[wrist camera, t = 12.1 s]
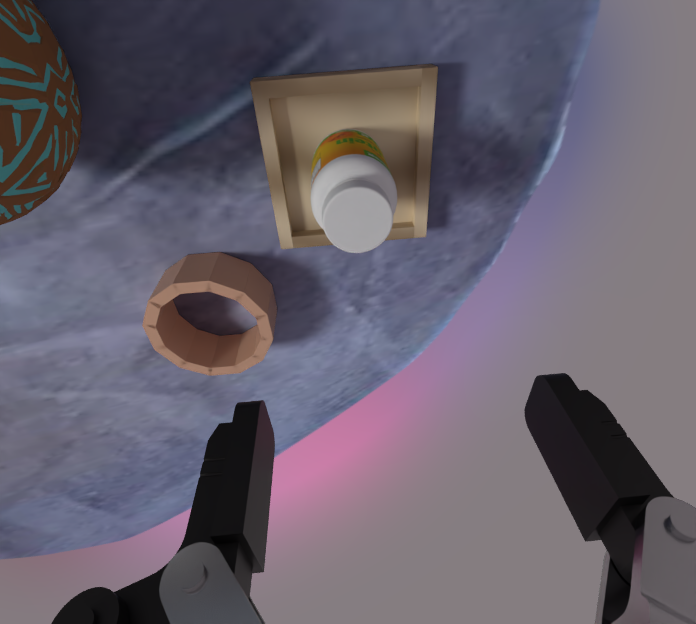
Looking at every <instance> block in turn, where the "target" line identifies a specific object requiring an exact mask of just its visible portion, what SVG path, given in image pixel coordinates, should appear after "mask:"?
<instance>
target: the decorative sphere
mask: <svg viewBox="0 0 696 624" xmlns="http://www.w3.org/2000/svg"><path fill="white" fill-rule="evenodd" d="M81 120H82V113H81V106H80V100H79V94H78V87H77V85H76V84H75V81H74V77H73V74H72V70H71V68H70V66H69V64H68V62H67V59H66V56H65V54H64V51H63V49H62V48H61V46H60V45H59V43H58V41H57V39H56V38H55V36H54V34H53V32H52V31H51V29H50V27H49V25H48V23H47V21H46V20H45V18H44V17H43V15H42V14H41V12H40V11H39V10H38V9H37V7H36V6H35V4H34V3H33V2H32V1H31V0H0V225H1V224H5V223H8V222H11V221H13V220H16V219H18V218H20V217H22V216H24V215H27V214H28V213H29V212H31V211H32V210H33V209H35V208H36V207H38V206H39V205H40V204H42V203H43V202H44V201H46V200H47V199H48V198H49V197H50V196H51V195H52V194H53V193H54V192H55V191H56V190H57V189H58V188H59V187H60V184H61V183H62V181H63V180H64V178H65V176H66V174H67V172H69V171H70V168H71V166H72V164H73V162H74V160H75V158H76V155H77V152H78V149H79V147H78V145H79V143H80V137H81Z"/></svg>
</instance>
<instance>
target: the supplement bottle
mask: <svg viewBox="0 0 696 624" xmlns="http://www.w3.org/2000/svg"><path fill="white" fill-rule="evenodd" d="M396 206H397V189H396V185H395V182H394V179H393V177H392V175H391V172H390V170H389V168H388V165H387V163H386V161H385V159H384V156H383V154H382V151H381V149H380V148H379V146H378V144H377V143H376V142H375V140H374V139H373V138H372V137H370V136H369V135H368V134H366V133H364V132H362V131H359V130H356V129H341V130H337V131H335V132H332V133H331V134H329V135H327V136H326V137H325V138H324V139H323V140H322V141H321V142H320V144H319V145H318V147H317V148H316V150H315V153H314V156H313V160H312V170H311V207H312V212H313V215H314V217H315V219H316V221H317V223H318V224H319V225H320V227H321V228H322V229H323V230H324V232H325V234H326V236H327V238H328V239H329V240H330V242H331V243H332V244H333V245H335V246H336V247H338V248H339V249H341V250H343V251H346V252H351V253H362V252H367V251H370V250H372V249H374V248H376V247H377V246H379V245H380V244H381V243H382V242H383V241H384V240H385V239H386V238H387V236H388V235H389V233H390V231H391V228H392V225H393V215H394V213H395V210H396Z"/></svg>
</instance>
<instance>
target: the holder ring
mask: <svg viewBox="0 0 696 624" xmlns="http://www.w3.org/2000/svg"><path fill="white" fill-rule="evenodd" d="M208 291H209V292H212V293H215V294H218V295H221V296H224V297H227V298H230V299H233V300H236V301H238V302H239V303H240V304H241V305H242V306H243V307H244V308H246V309H247V310H248V311H249V312H250V313H251V314H252V315H253V316H254V317H255V318H256V320H257V323H258V325H256V326H254V327H253V328H251V329H249V330H248V331H246V332H244V333H243V334H235V335H224V336H218V335H215V334H212V333H208V332H205V331H202V330H198V329H196V328H195V327H194V326H192V325H191V324H190V323H189V322H187V321H186V320H185V319H184V318H182V317H181V316H180V315H179V313H178V311H177V309H176V306H175V304H174V302H173V299H174V298H175V297H177V296H178V295H179V294H185V293H197V292H208ZM276 315H277V305H276V300H275V296H274V291H273V287H272V284H271V283H270V282H269V281H268V280H267V279H266V278H265V277H264V276H263V275H262V274H261V273H260V272H259V271H258V270H257V269H256V268H255V267H254V266H253V265H252V264H251V263H249V262H246V261H243V260H240V259H238V258H235V257H232V256H229V255H227V254H224V253H221V252H215V253H203V254H191V255H187V256H185V257H184V258H183V259H181V260H180V261H178V262H177V263H176V264H174V265H173V266H171V267H170V268H169V269H167V270H166V271H165V272H164V274H163V276H162V278H161V279H160V281H159V283H158V285H157V286H156V288H155V290H154V292H153V293H152V295H151V297H150V299H149V300H148V304H147V308H146V312H145V316H144V321H143V325H142V326H143V328H144V330H145V332H146V334H147V336H148V338H149V340H150V342H151V344H152V346H153V348H154V350H156V351H157V352H158V353H160V354H161V355H163V356H164V357H165V358H167V359H168V360H170V361H171V362H173V363H174V364H175V365H177V366H178V367H180V368H183V369H187V370H191V371H195V372H199V373H202V374H206V375H210V376H211V375H223V374H234V373H241V372H243V371H244V370H246V369H248V368H250V367H252V366H253V365H255V364H257V363H259V362H261V361H262V360H263V359H264V357H265V355H266V353H267V351H268V349H269V347H270V345H271V343H272V341H273V338H274V330H275V322H276Z"/></svg>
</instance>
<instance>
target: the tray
mask: <svg viewBox="0 0 696 624" xmlns="http://www.w3.org/2000/svg"><path fill="white" fill-rule="evenodd" d="M437 73H438V67H437V66H435V65H433V64H422V65H410V66H397V67H385V68H372V69H359V70H347V71H334V72H321V73H309V74H296V75H284V76H271V77H258V78H253V79H252V80H251V81H250V86H251V91H252V97H253V102H254V107H255V113H256V118H257V123H258V128H259V134H260V139H261V144H262V150H263V155H264V160H265V166H266V171H267V176H268V181H269V187H270V192H271V197H272V203H273V208H274V213H275V219H276V224H277V229H278V234H279V240H280V245H281V249H289V248H301V247H313V246H324V245H333V244H332V243H331V242H330V240H329V239H328V238H327V236H326V234H325V232H324V230H323V229H322V228H321V227H320V225H319V224H318V223H317V221H316V219H315V217H314V215H313V212H312V207H311V170H312V160H313V156H314V153H315V150H316V148H317V147H318V145H319V144H320V142H321V141H322V140H323V139H324V138H325V137H326V136H327V135H329V134H331V133H332V132H335V131H337V130H341V129H356V130H359V131H362V132H364V133H366V134H368V135H369V136H370V137H372V138H373V139H374V140H375V142H376V143H377V144H378V146H379V148H380V149H381V151H382V154H383V156H384V159H385V161H386V163H387V165H388V168H389V170H390V172H391V175H392V177H393V179H394V182H395V185H396V189H397V206H396V210H395V213H394V215H393V225H392V228H391V231H390V233H389V235H388V236H387V238H386V239H385V240H395V239H407V238H419V237H426V229H427V215H428V201H429V187H430V172H431V158H432V144H433V130H434V116H435V101H436V87H437Z"/></svg>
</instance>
